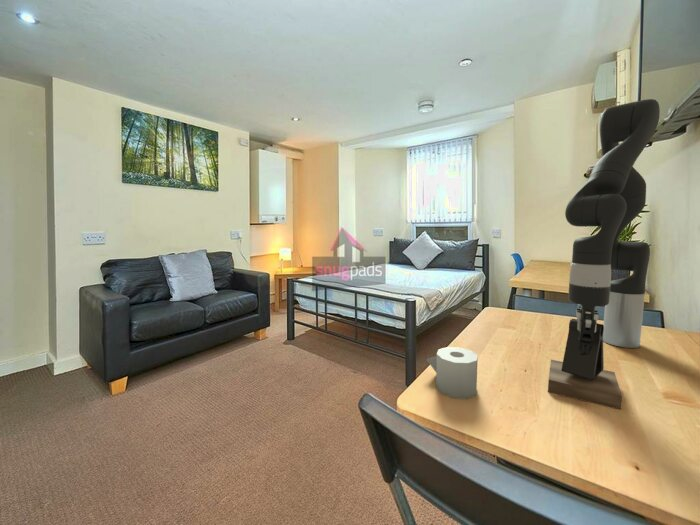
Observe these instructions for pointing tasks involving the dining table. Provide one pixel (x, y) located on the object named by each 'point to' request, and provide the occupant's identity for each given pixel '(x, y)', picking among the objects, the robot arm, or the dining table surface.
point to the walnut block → (585, 386)
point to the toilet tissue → (455, 372)
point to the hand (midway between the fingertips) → (584, 353)
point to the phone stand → (580, 363)
